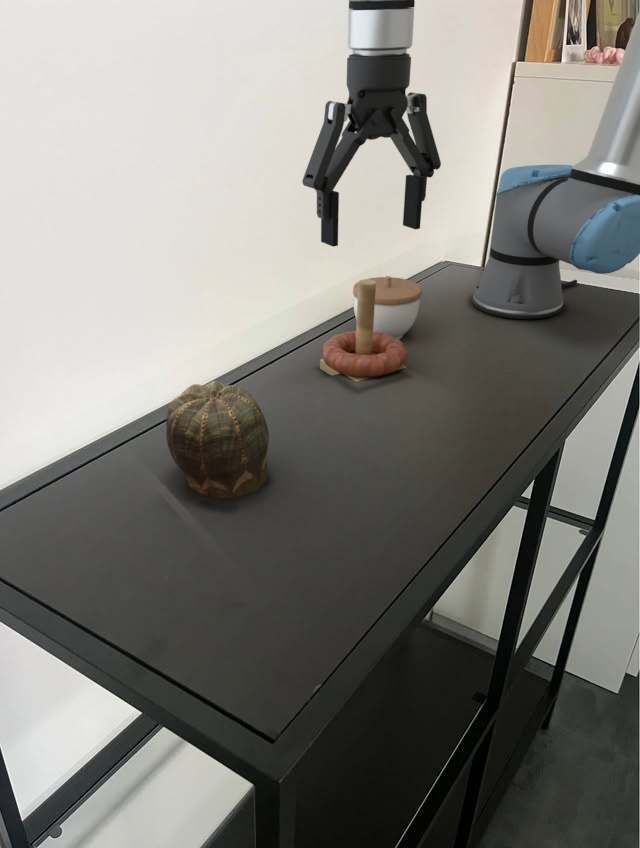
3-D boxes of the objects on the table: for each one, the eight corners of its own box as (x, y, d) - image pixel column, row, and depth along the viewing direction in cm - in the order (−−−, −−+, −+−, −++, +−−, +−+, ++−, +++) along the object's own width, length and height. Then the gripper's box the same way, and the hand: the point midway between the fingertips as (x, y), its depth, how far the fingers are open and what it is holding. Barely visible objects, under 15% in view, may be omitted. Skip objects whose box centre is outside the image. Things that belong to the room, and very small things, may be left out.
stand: (368, 355, 117) (373, 267, 110) (406, 376, 111) (414, 284, 103) (319, 368, 113) (321, 278, 106) (356, 391, 107) (360, 297, 100)
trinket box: (415, 349, 119) (421, 290, 114) (347, 344, 121) (349, 286, 116) (419, 324, 128) (424, 268, 123) (355, 320, 130) (357, 265, 125)
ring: (371, 340, 118) (372, 322, 117) (422, 367, 110) (424, 347, 108) (306, 357, 113) (306, 338, 111) (355, 387, 104) (356, 367, 103)
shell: (179, 461, 91) (170, 368, 85) (271, 462, 91) (269, 369, 84) (164, 514, 82) (153, 414, 75) (267, 515, 82) (265, 415, 75)
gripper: (438, 44, 98) (424, 215, 110) (272, 56, 87) (276, 244, 99) (480, 47, 93) (461, 226, 104) (308, 60, 82) (308, 258, 93)
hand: (371, 235), depth 101 cm, fingers open, 13 cm apart
